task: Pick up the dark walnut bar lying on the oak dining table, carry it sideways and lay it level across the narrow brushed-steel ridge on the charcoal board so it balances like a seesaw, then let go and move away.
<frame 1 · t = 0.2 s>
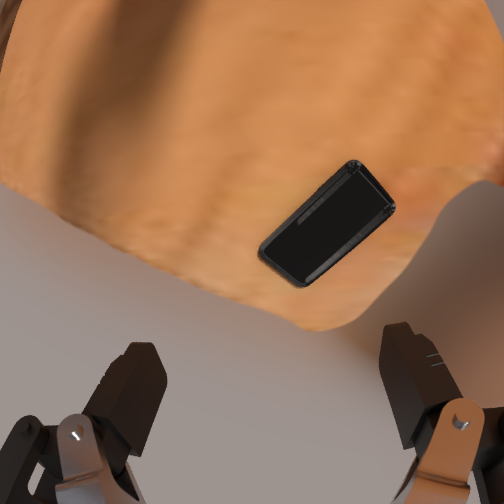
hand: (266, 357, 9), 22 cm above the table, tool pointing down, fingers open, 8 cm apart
phone: (326, 224, 32), on the table
walnut bar: (1, 52, 20), on the table
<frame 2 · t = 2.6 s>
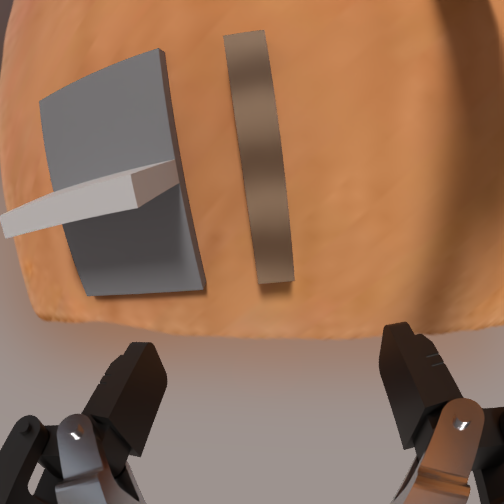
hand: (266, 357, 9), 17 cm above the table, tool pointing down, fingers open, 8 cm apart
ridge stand: (115, 183, 25), on the table
walnut bar: (263, 155, 24), on the table
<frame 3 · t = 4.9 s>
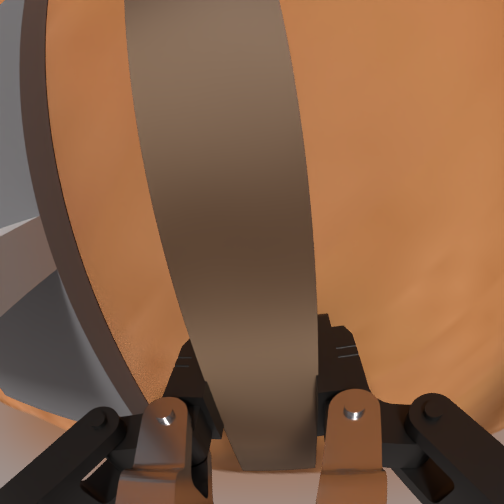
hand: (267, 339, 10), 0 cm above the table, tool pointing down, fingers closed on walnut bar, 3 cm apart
walnut bar: (249, 200, 9), on the table, touching gripper
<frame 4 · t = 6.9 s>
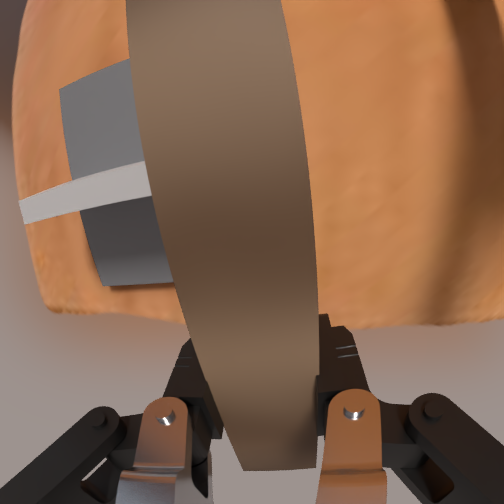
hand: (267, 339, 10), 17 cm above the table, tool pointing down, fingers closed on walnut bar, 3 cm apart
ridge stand: (137, 172, 26), on the table
walnut bar: (250, 200, 9), point 17 cm above the table, touching gripper
when the fingers open (11 cm above the table, at t = 9.0 s): walnut bar stays where it is, resting on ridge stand.
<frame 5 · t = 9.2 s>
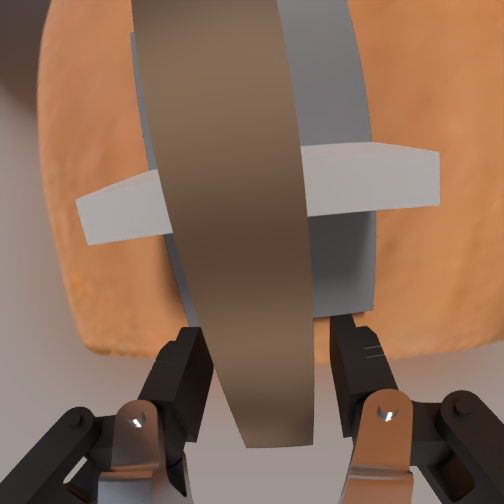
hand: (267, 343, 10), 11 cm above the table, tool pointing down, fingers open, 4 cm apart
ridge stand: (261, 165, 18), on the table
walnut bar: (251, 200, 10), point 10 cm above the table, touching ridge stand
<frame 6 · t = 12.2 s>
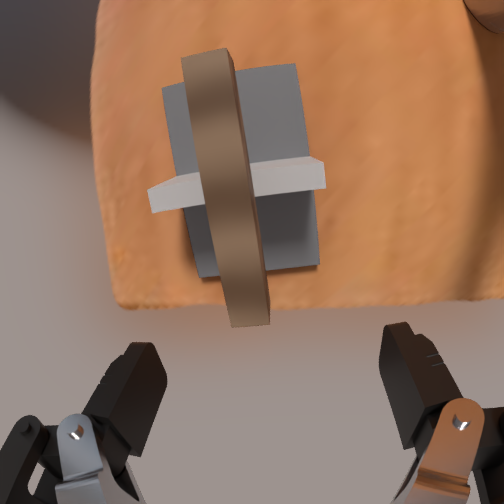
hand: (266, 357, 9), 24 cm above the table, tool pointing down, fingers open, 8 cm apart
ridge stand: (244, 172, 31), on the table
walnut bar: (233, 189, 22), point 9 cm above the table, touching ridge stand
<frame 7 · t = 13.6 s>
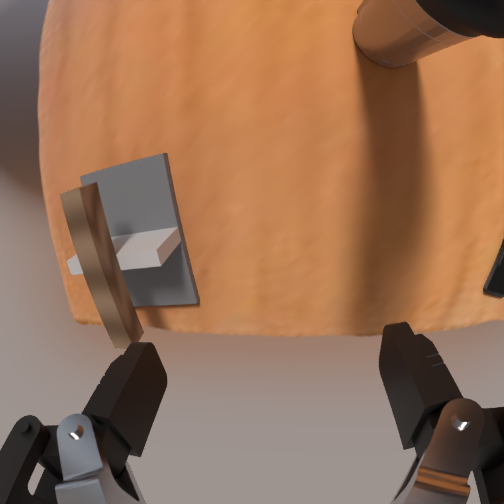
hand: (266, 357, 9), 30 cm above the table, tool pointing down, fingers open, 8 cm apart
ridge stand: (139, 236, 41), on the table
walnut bar: (109, 265, 32), point 9 cm above the table, touching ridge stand
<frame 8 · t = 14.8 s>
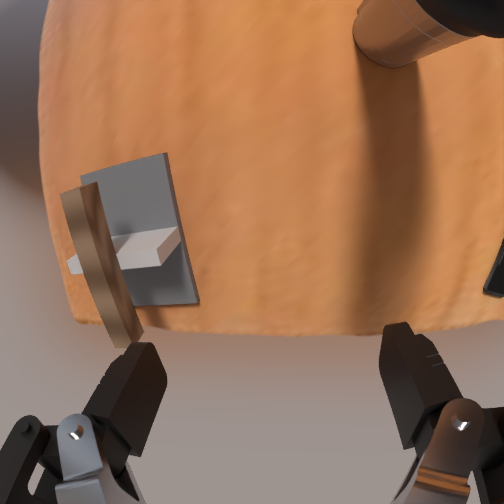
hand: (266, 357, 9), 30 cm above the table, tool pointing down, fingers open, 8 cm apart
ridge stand: (139, 236, 41), on the table
walnut bar: (109, 264, 32), point 9 cm above the table, touching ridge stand
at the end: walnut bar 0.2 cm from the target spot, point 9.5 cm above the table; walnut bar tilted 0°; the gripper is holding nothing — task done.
